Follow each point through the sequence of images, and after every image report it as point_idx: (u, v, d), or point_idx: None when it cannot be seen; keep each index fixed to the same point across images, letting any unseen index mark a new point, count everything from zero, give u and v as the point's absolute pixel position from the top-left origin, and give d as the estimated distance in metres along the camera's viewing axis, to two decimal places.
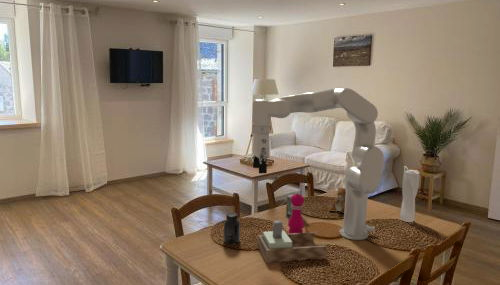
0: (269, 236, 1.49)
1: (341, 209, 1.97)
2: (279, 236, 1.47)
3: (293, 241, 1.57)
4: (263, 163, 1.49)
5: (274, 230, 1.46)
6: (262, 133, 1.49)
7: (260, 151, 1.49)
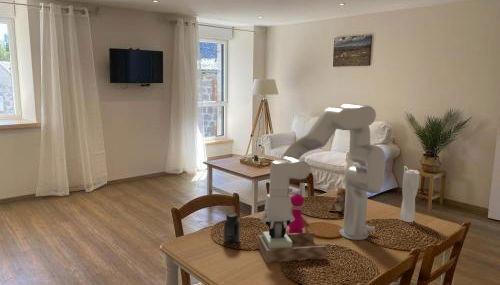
0: (269, 236, 1.49)
1: (341, 209, 1.97)
2: (279, 236, 1.47)
3: (293, 241, 1.57)
4: None
5: (274, 230, 1.46)
6: None
7: None
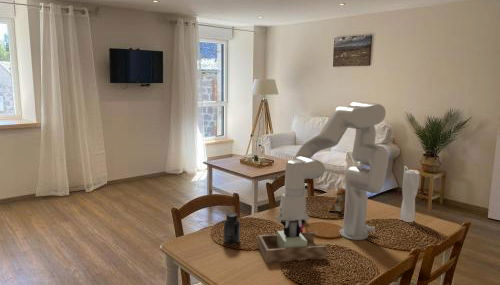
0: (284, 235, 1.50)
1: (340, 209, 1.97)
2: (294, 235, 1.48)
3: None
4: None
5: (289, 229, 1.48)
6: None
7: None
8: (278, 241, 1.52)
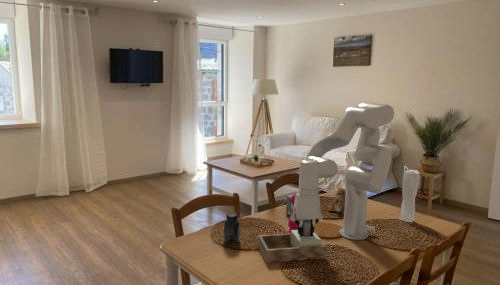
0: (298, 234, 1.51)
1: (340, 209, 1.96)
2: (308, 234, 1.49)
3: None
4: None
5: (303, 229, 1.49)
6: None
7: None
8: (292, 240, 1.53)
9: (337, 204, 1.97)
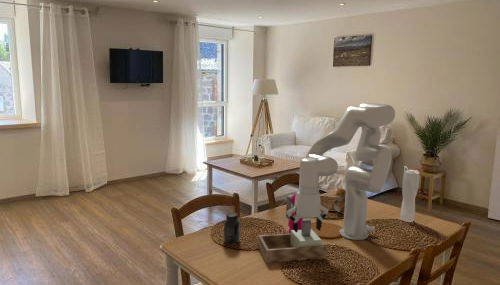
0: (298, 234, 1.51)
1: (339, 209, 1.96)
2: (308, 234, 1.49)
3: None
4: None
5: (303, 229, 1.49)
6: None
7: None
8: (292, 240, 1.53)
9: (337, 204, 1.97)
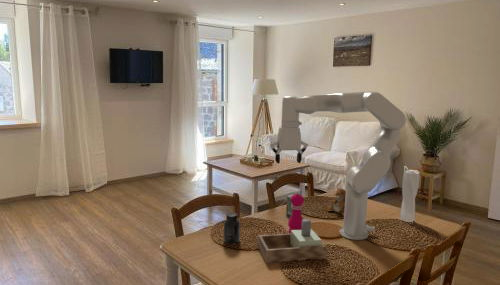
0: (298, 234, 1.51)
1: (339, 209, 1.96)
2: (308, 234, 1.49)
3: None
4: None
5: (303, 229, 1.49)
6: None
7: None
8: (292, 240, 1.53)
9: (336, 204, 1.97)
